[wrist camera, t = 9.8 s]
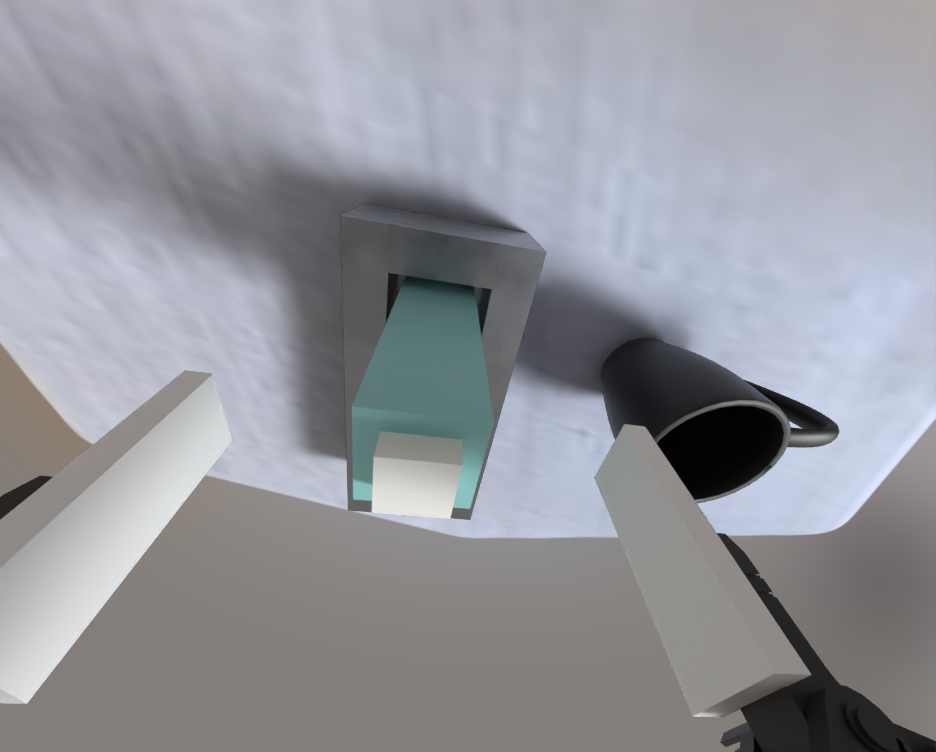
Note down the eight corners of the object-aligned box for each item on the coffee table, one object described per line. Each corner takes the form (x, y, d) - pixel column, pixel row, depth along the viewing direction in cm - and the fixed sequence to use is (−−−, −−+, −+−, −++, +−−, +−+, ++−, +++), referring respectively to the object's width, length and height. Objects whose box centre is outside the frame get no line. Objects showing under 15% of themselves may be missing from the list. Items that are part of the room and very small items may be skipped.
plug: (409, 267, 21) (341, 431, 9) (472, 277, 22) (497, 447, 9) (404, 325, 23) (344, 526, 11) (462, 334, 24) (471, 535, 11)
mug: (716, 405, 29) (814, 498, 21) (577, 412, 29) (623, 508, 21) (756, 316, 25) (899, 391, 17) (592, 323, 25) (658, 403, 17)
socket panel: (364, 203, 20) (340, 215, 16) (528, 233, 21) (546, 252, 17) (362, 463, 32) (348, 510, 27) (468, 473, 33) (470, 519, 29)
